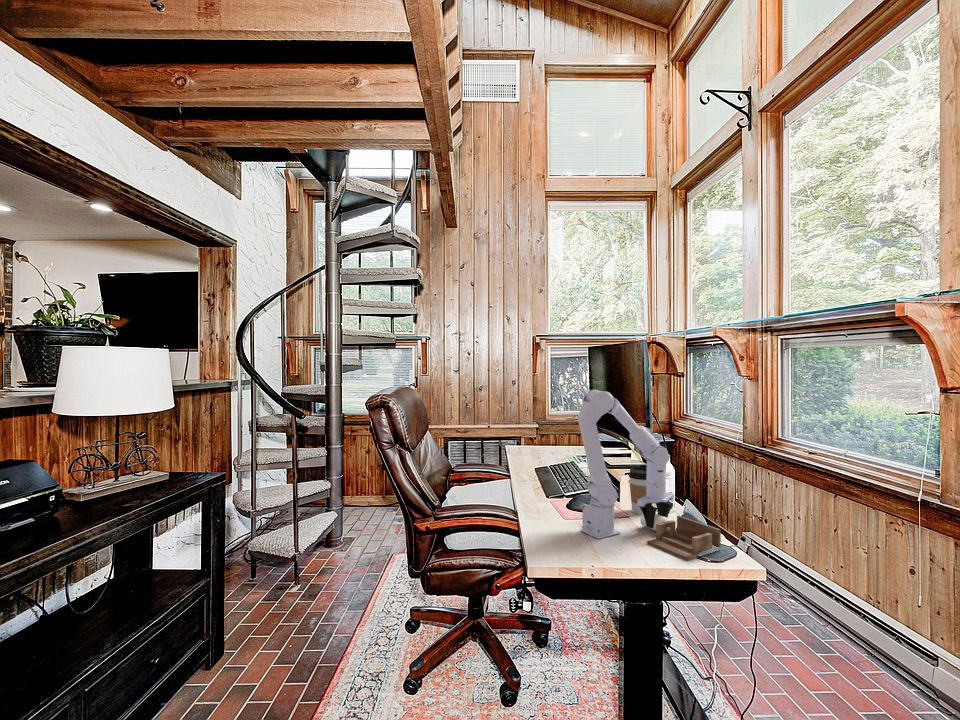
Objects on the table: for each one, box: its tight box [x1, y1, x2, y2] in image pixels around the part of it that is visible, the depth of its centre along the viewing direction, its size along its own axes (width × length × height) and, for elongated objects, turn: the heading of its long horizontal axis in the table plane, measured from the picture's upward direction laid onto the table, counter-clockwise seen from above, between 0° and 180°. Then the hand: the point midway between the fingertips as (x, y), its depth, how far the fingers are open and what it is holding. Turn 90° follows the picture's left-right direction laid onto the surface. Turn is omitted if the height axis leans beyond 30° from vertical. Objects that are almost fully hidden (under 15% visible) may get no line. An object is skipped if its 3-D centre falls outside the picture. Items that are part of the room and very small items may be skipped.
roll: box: [640, 513, 672, 532], centre depth 149 cm, size 5×8×5 cm, turn 30°
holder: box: [646, 515, 722, 561], centre depth 136 cm, size 14×14×6 cm
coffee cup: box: [628, 466, 647, 516], centre depth 167 cm, size 8×8×15 cm
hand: (655, 525), depth 149 cm, fingers closed on roll, 5 cm apart
